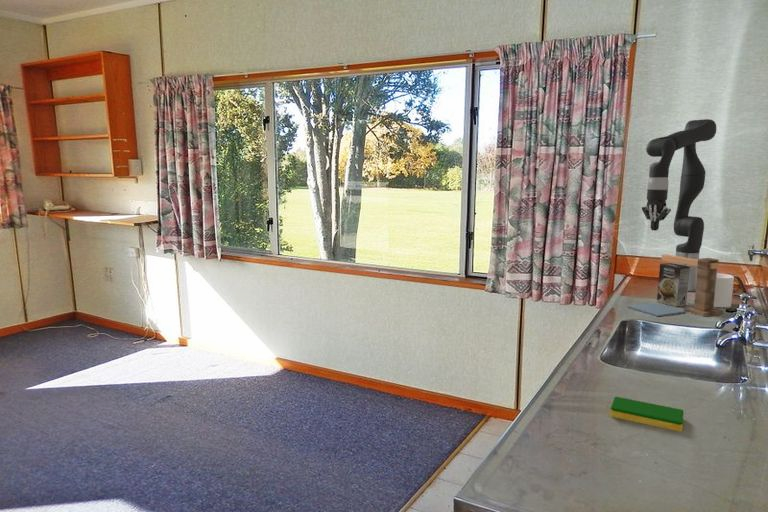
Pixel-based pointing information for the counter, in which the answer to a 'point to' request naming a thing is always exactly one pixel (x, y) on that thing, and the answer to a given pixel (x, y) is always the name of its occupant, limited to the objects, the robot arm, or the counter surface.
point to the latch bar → (687, 261)
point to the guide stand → (705, 289)
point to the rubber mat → (656, 309)
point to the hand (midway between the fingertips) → (654, 230)
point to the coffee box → (673, 284)
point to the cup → (723, 290)
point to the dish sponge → (647, 413)
